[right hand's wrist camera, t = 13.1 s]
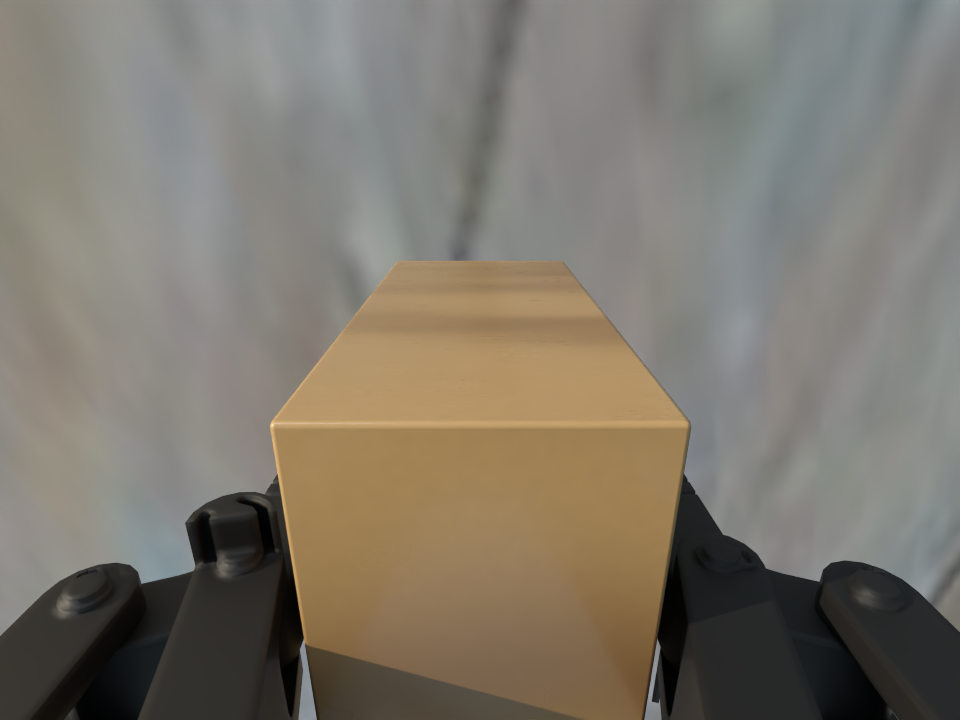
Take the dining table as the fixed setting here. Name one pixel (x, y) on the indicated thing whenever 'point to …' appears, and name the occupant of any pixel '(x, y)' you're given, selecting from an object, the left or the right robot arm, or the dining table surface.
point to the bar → (480, 502)
